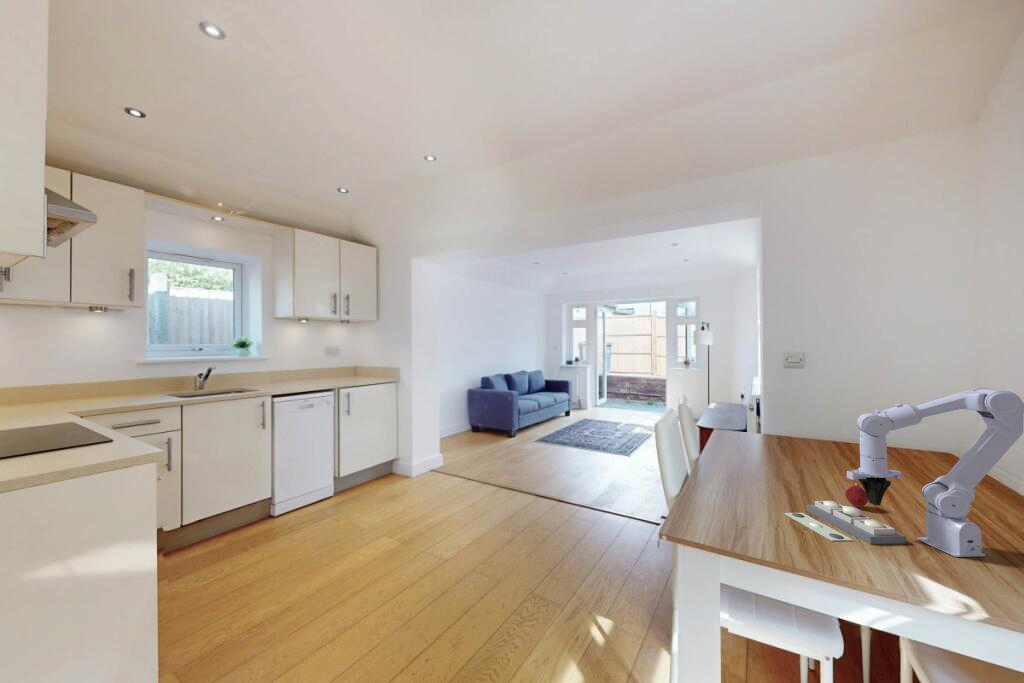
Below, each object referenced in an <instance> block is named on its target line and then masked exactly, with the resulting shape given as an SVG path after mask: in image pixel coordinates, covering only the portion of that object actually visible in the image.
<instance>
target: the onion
mask: <svg viewBox="0 0 1024 683" xmlns="http://www.w3.org/2000/svg"><path fill="white" fill-rule="evenodd" d="M844 494H845V495H844V496H845V498H846V500H847V501H848V502H849V504H851V505H852V507H855V508H858V509H860V507H864V506H865V505H866V504H867V503H869V500H868V497H867V494H866V492H865V490H864V488H862V487H861V486H859V483H858V482H857V483H856V482H855V483H854V485H853V486H850V487H848V488H847V489H846V490H845V493H844Z"/></svg>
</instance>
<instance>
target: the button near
mask: <svg viewBox="0 0 1024 683" xmlns="http://www.w3.org/2000/svg"><path fill="white" fill-rule="evenodd" d="M875 520H876V519H871V520H868V519H866V520H864V524H865V525H867V526H870V527H872V528H874V529H876V528H884V524H885V523H883V522H880V521H878V520H876V521H875Z"/></svg>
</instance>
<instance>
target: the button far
mask: <svg viewBox="0 0 1024 683" xmlns="http://www.w3.org/2000/svg"><path fill="white" fill-rule="evenodd" d="M822 501H823V503H824V505H825V506H827V507H829V508H840V505H841V503H839V502H836V501H834V500H822ZM833 501H834V502H833Z"/></svg>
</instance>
